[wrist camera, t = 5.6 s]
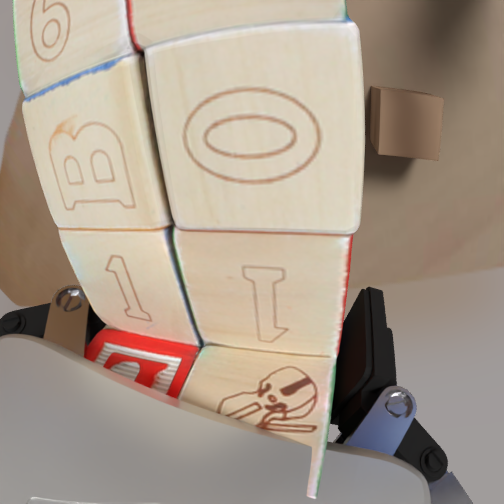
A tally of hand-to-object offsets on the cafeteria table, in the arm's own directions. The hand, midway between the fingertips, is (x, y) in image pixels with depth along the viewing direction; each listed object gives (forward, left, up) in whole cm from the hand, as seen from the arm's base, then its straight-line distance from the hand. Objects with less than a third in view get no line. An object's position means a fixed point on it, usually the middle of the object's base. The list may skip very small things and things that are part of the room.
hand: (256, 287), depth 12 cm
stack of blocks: (0, 0, -5) cm, 5 cm away
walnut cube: (-8, -6, -19) cm, 22 cm away
